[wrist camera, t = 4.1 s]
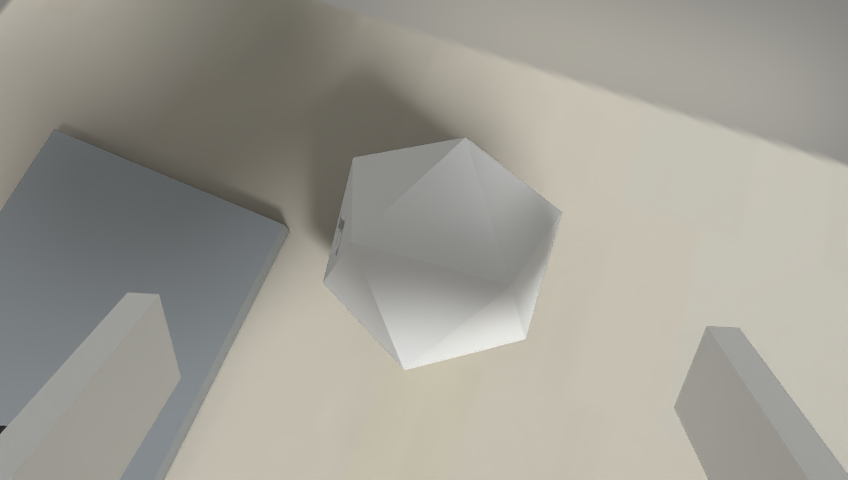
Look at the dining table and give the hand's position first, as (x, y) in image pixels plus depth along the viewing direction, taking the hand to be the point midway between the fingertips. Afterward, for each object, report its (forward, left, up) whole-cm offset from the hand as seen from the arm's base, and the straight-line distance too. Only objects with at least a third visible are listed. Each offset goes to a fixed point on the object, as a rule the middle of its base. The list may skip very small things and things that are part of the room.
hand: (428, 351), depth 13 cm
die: (+1, -4, -10) cm, 11 cm away
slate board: (+14, +3, -10) cm, 18 cm away
